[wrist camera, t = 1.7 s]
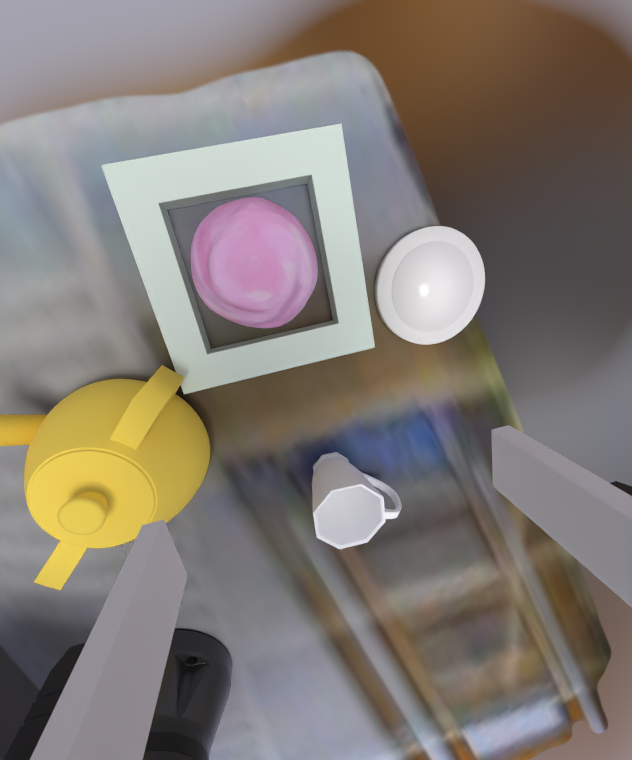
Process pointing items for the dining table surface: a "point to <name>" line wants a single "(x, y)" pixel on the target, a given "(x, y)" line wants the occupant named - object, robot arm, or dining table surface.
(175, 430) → the teapot
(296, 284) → the cupcake
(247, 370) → the frame
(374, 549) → the dining table surface
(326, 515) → the cup
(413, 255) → the plate
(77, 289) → the dining table surface
